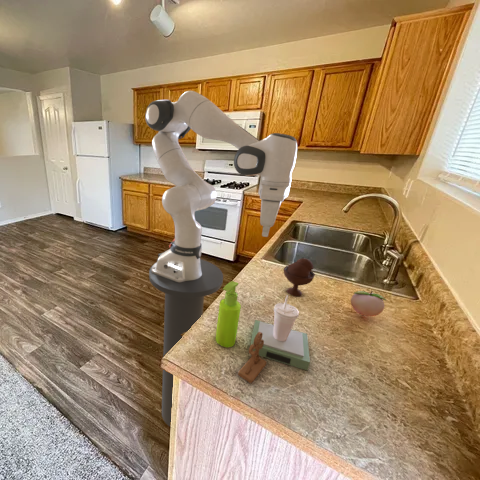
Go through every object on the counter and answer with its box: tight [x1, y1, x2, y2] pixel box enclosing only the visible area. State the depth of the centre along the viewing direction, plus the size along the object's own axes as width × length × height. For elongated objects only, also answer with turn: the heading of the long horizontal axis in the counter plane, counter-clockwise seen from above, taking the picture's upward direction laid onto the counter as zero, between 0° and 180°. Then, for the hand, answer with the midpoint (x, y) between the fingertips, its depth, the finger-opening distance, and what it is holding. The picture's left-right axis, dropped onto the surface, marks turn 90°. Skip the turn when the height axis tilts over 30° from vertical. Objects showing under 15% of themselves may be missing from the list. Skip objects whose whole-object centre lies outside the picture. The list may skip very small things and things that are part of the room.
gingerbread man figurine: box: [237, 332, 267, 384], centre depth 68 cm, size 9×4×12 cm, turn 135°
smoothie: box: [273, 294, 300, 342], centre depth 74 cm, size 6×6×14 cm
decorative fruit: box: [350, 290, 387, 317], centre depth 91 cm, size 9×8×10 cm
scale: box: [250, 319, 311, 372], centre depth 77 cm, size 15×12×4 cm
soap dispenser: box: [215, 280, 242, 348], centre depth 76 cm, size 6×7×20 cm
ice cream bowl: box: [283, 257, 316, 297], centre depth 103 cm, size 11×11×15 cm
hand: (266, 231), depth 87 cm, fingers open, 8 cm apart
